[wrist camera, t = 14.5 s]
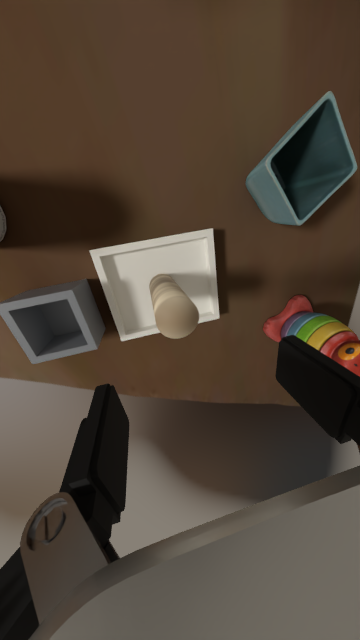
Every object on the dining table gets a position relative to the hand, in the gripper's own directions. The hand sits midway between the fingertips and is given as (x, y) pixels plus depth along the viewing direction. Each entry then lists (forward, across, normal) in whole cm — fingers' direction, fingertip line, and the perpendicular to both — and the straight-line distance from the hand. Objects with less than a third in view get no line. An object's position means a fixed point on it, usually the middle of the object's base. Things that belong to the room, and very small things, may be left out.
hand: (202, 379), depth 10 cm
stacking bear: (+24, -26, +15) cm, 38 cm away
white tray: (+24, 0, +1) cm, 24 cm away
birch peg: (+23, 0, +1) cm, 23 cm away
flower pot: (+24, -19, -11) cm, 33 cm away
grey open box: (+24, +16, +2) cm, 29 cm away
